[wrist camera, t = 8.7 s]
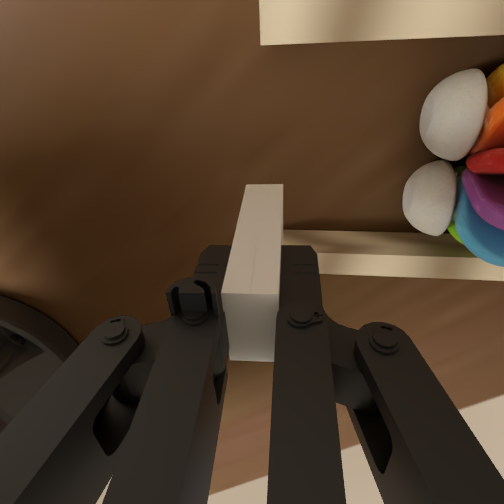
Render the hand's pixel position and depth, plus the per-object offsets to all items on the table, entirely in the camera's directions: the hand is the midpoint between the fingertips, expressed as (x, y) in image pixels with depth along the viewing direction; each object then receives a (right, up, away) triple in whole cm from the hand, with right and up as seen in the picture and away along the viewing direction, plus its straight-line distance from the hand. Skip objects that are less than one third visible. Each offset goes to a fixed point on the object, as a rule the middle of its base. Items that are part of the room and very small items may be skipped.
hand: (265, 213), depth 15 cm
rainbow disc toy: (+12, +4, +4) cm, 14 cm away
